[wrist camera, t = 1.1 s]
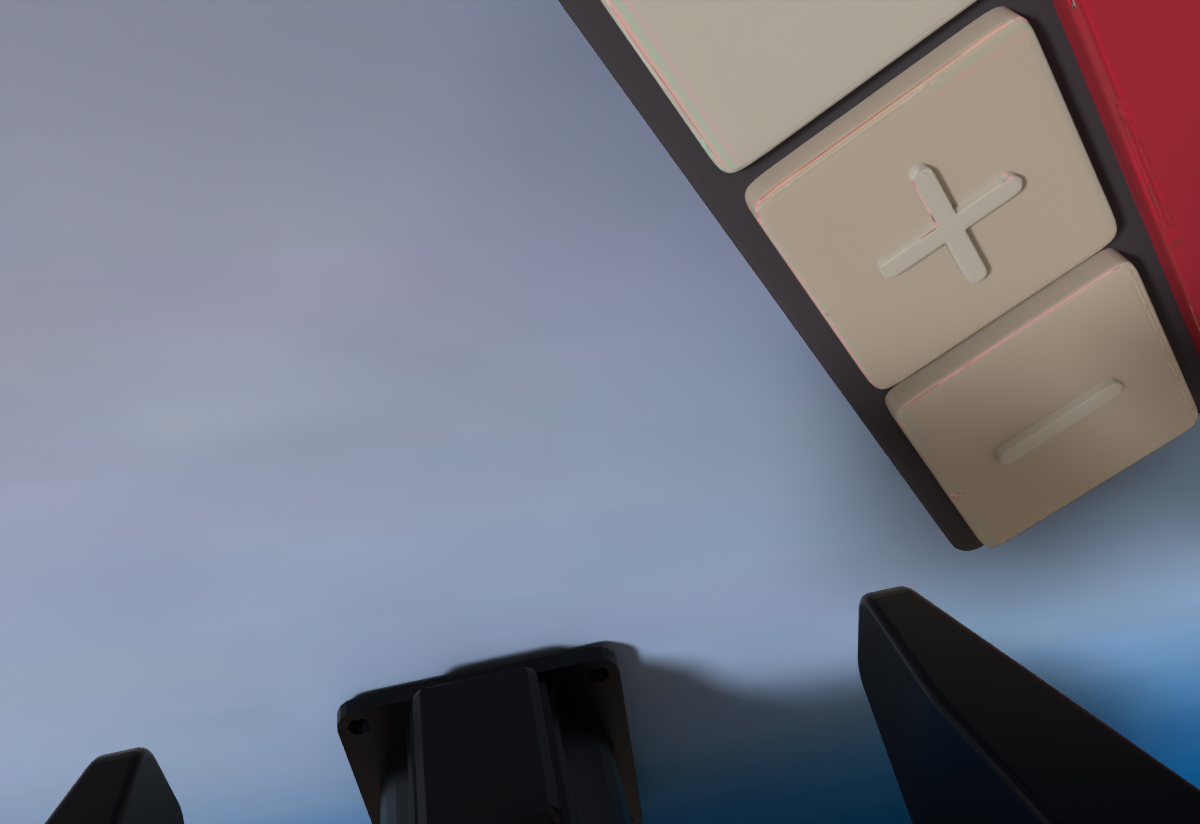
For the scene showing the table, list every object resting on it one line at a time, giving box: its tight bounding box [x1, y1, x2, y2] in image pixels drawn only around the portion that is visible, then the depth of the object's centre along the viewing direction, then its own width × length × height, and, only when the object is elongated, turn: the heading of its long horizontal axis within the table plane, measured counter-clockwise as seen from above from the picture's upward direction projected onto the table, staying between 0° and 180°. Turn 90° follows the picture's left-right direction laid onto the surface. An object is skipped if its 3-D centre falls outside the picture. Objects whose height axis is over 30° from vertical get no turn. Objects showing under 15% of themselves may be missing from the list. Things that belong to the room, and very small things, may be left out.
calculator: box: [559, 0, 1200, 551], centre depth 19 cm, size 11×4×15 cm
